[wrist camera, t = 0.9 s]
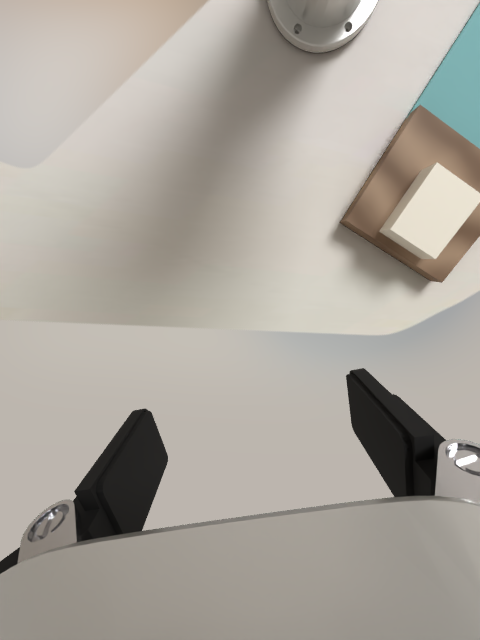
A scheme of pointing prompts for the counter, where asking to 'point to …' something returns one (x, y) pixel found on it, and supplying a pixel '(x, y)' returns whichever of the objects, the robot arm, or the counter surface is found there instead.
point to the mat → (458, 84)
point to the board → (397, 176)
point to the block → (431, 212)
